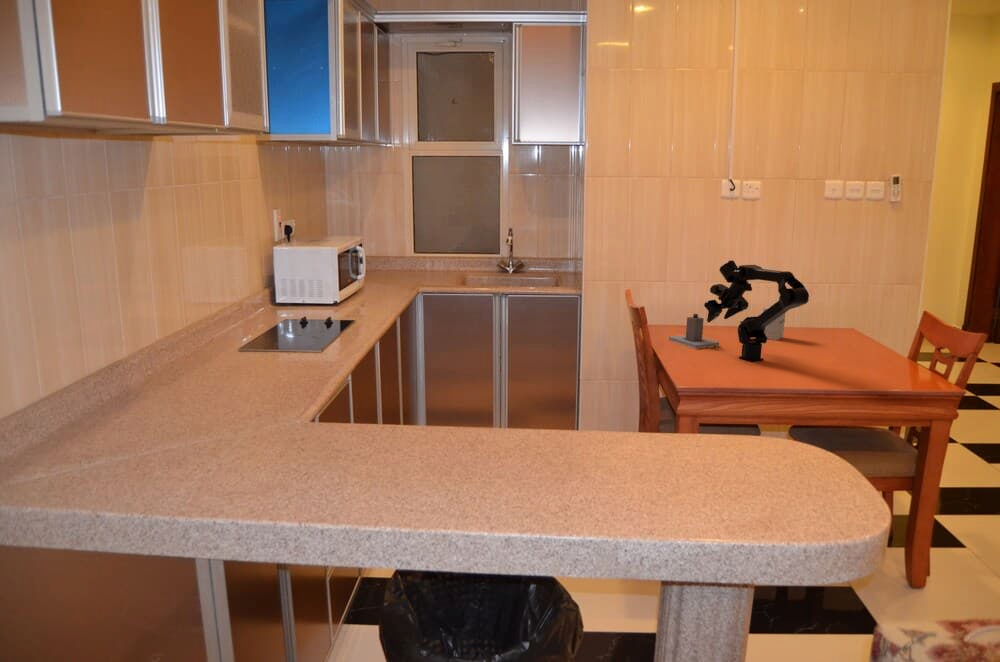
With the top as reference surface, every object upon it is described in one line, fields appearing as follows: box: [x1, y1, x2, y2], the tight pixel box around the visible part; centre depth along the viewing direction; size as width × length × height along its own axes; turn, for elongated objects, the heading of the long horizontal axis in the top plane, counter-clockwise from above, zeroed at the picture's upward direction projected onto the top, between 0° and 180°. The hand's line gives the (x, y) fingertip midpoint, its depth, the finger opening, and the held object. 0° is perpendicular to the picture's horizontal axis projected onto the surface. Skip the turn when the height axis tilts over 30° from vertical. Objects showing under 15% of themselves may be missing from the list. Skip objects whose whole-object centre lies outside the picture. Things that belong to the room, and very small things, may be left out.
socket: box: [668, 334, 720, 350], centre depth 312 cm, size 16×12×2 cm
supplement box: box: [762, 305, 787, 341], centre depth 324 cm, size 7×7×13 cm
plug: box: [685, 313, 705, 342], centre depth 311 cm, size 4×4×12 cm
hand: (716, 320), depth 304 cm, fingers open, 9 cm apart
